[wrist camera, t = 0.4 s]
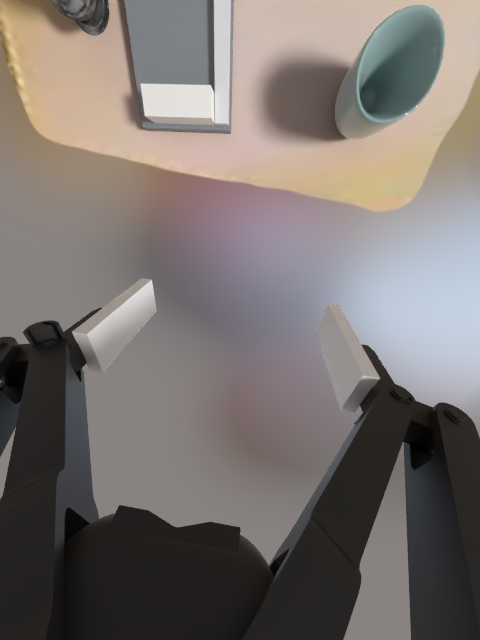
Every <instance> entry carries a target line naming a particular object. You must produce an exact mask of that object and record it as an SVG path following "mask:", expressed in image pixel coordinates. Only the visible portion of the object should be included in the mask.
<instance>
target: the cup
mask: <svg viewBox="0 0 480 640" xmlns="http://www.w3.org/2000/svg"><path fill="white" fill-rule="evenodd" d="M444 46H445V32H444V26H443V22H442V20H441V18H440V16H439V14H438V13H437V12H436V11H435V10H434V9H432V8H430V7H427V6H423V5H414V6H410V7H406V8H403V9H401V10H399V11H397V12H395V13H393V14H392V15H391V16H389V17H388V18H386V19H385V20H384V21H383V22H382V23H381V24H380V25H379V26H378V27H377V28H376V29H375V30H374V31H373V32H372V34H371V35H370V36H369V38H368V39H367V40H366V42H365V43H364V45H363V46H362V48H361V49H360V51H359V52H358V54H357V56H356V57H355V59H354V60H353V62H352V64H351V65H350V67H349V69H348V71H347V73H346V75H345V77H344V78H343V81H342V83H341V86H340V88H339V91H338V94H337V99H336V103H335V122H336V126H337V129H338V131H339V132H340V133H341V135H343V136H344V137H346V138H349V139H362V138H366V137H369V136H372V135H374V134H376V133H378V132H380V131H382V130H384V129H386V128H388V127H390V126H391V125H393V124H395V123H396V122H398V121H400V120H401V119H403V118H404V117H406V116H407V115H408V114H410V113H411V112H412V111H414V110H415V109H416V108H417V107H418V106H419V105H420V103H421V102H422V101H423V100H424V99H425V97H426V96H427V95H428V93H429V92H430V90H431V88H432V86H433V84H434V82H435V80H436V78H437V75H438V73H439V70H440V67H441V63H442V59H443V54H444Z"/></svg>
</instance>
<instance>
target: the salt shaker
mask: <svg viewBox="0 0 480 640" xmlns="http://www.w3.org/2000/svg"><path fill="white" fill-rule="evenodd" d="M51 1H52V3H53V4H54V6H55V7H56V8H57V9H58V10H59V11H60V12H61V13H62V14H64V15H65V16H67V17H68V18H72V19H75V20H76V22H77V23H78V25H79V26H80V27H81V28H82V29H83V30H84V31H85V32H87V33H88V34H91V35H99V34H101V33H102V32H103V31H104V30H105V28H106V26H107V23H108V20H109V3H108V0H51Z"/></svg>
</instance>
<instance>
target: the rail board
mask: <svg viewBox="0 0 480 640" xmlns="http://www.w3.org/2000/svg"><path fill="white" fill-rule="evenodd" d="M124 2H125V9H126V16H127V23H128V30H129V37H130V44H131V51H132V58H133V65H134V72H135V79H136V86H137V93H138V99H139V106H140V113H141V120H142V127H143V128H144V129H146V130H148V131H175V132H202V133H229V134H231V105H232V55H233V5H234V0H124Z"/></svg>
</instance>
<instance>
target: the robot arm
mask: <svg viewBox="0 0 480 640" xmlns="http://www.w3.org/2000/svg"><path fill="white" fill-rule="evenodd" d="M156 311H157V310H156V303H155V298H154V291H153V286H152V280H150V279H143V278H142V279H140V280H139V281H138V282H136V283H135V284H134V285H133V286H131V287H130V288H129V289H127V290H126V291H125V292H123V293H122V294H121V295H119V296H118V297H117V298H115V299H114V300H113V301H112V302H110V303H109V304H108V305H106V306H105V307H104V308H99V309H96V310H94V311H92V312H91V313H89V314H88V315H87V316H86V317H84V318H83V319H81V320H80V321H78V322H77V323H76V324H74V325H73V326H72V327H70V328H69V329H67V330H66V331H65V332H63V331H62V329H61V327H60V325H59V323H58V322H56V321H42V322H38V323H35V324H33V325H31V326H29V327H28V328H26V329H25V330H24V332H23V333H24V335H25V336H26V338H27V340H28V341H29V343H30V344H21V345H19V344H18V343H17V341H16V340H15V338H12V337H2V338H0V381H1V383H0V456H1V455H2V452H3V451H4V449H5V447H6V445H7V443H8V441H9V439H10V437H11V435H12V433H13V431H14V429H15V427H16V430H15V436H14V441H13V446H12V451H11V456H10V462H9V467H8V472H7V478H6V482H5V488H4V493H3V496H2V498H1V499H0V640H343V638H344V636H345V632H346V630H347V626H348V624H349V621H350V617H351V614H352V611H353V608H354V605H355V602H356V599H357V596H358V593H359V589H360V585H361V573H360V570H359V565H360V561H361V558H362V555H363V552H364V549H365V546H366V544H367V541H368V538H369V535H370V532H371V530H372V527H373V524H374V521H375V518H376V516H377V513H378V510H379V507H380V504H381V501H382V499H383V496H384V493H385V490H386V487H387V485H388V482H389V479H390V476H391V473H392V471H393V468H394V465H395V462H396V459H397V457H398V454H399V451H400V448H401V445H402V443H403V442H404V462H405V488H406V514H407V538H408V539H407V541H408V568H409V595H410V618H411V619H410V620H411V640H480V438H479V435H478V432H477V430H476V427H475V425H474V423H473V421H472V419H471V418H470V417H468V415H467V414H465V413H464V412H463V411H462V410H460V409H458V408H457V407H455V406H453V405H450V404H447V403H438V404H437V405H436V406H434V407H433V408H432V407H430V406H428V405H425V404H422V403H420V402H417V401H415V399H414V397H413V396H412V395H411V394H410V393H409V392H408V391H407V390H406V389H404V388H403V387H401V386H398V385H396V384H394V382H393V380H392V379H391V377H390V376H389V374H388V372H387V371H386V369H385V368H384V366H383V365H382V363H381V361H380V360H379V358H378V356H377V355H376V353H375V352H374V351H373V350H372V349H371V348H370V347H369V346H367V345H361V344H360V342H359V340H358V338H357V337H356V335H355V333H354V331H353V330H352V328H351V326H350V324H349V323H348V321H347V319H346V317H345V316H344V314H343V312H342V310H341V309H340V307H339V305H333V304H328V305H327V308H326V310H325V313H324V315H323V318H322V320H321V323H320V325H319V328H318V331H317V333H316V334H317V337H318V341H319V344H320V347H321V350H322V353H323V356H324V359H325V363H326V366H327V369H328V372H329V375H330V378H331V381H332V385H333V388H334V391H335V394H336V397H337V400H338V404H339V407H340V410H344V411H351V412H355V411H356V410H357V409H358V407H359V406H361V409H362V411H363V413H362V415H361V416H360V417H359V418H358V420H357V421H356V422H355V426H354V427H353V429H352V431H351V432H350V434H349V436H348V437H347V439H346V441H345V442H344V444H343V446H342V447H341V449H340V451H339V452H338V454H337V456H336V457H335V459H334V461H333V462H332V464H331V466H330V467H329V469H328V471H327V472H326V474H325V476H324V477H323V479H322V481H321V482H320V484H319V486H318V487H317V489H316V491H315V492H314V494H313V496H312V497H311V499H310V501H309V502H308V504H307V505H306V507H305V509H304V511H303V512H302V514H301V515H300V517H299V519H298V521H297V522H296V524H295V525H294V527H293V529H292V530H291V532H290V533H289V535H288V537H287V538H286V539H285V541H284V542H283V544H282V545H281V547H280V548H279V550H278V551H277V553H276V554H275V556H274V558H273V560H272V561H271V563H270V565H269V566H268V564H267V562H266V560H265V559H264V558H263V556H262V555H261V553H260V552H259V551H258V550H257V549H256V547H255V546H254V545H253V544H251V542H250V541H248V540H247V539H246V538H244V537H243V536H241V535H240V527H234V526H230V525H224V524H219V523H213V522H207V523H201V524H196V525H190V526H184V527H178V528H177V527H174V526H172V525H170V524H169V523H167V522H166V521H164V520H162V519H161V518H159V517H158V516H156V515H155V514H153V513H151V512H150V511H148V510H142V509H137V508H132V507H127V506H121V505H120V506H119V507H118V509H117V511H116V513H115V514H111V515H108V516H105V517H102V518H100V519H99V516H98V511H97V507H96V504H95V502H94V498H93V490H92V477H91V464H90V450H89V437H88V424H87V412H86V411H87V410H86V397H85V384H84V372H83V370H82V367H83V366H84V365H85V364H86V363H87V365H88V367H89V369H90V370H91V371H97V372H104V371H105V370H106V369H107V368H108V367H109V365H110V364H111V363H112V362H113V360H115V358H116V357H117V356H118V355H119V354H120V353H121V351H122V350H123V349H124V348H125V347H126V346H127V345H128V343H129V342H130V341H131V340H132V339H133V338H134V336H135V335H136V334H137V333H138V332H139V331H140V330H141V328H142V327H143V326H144V325H145V324H146V323H147V321H148V320H149V319H150V318H151V317H152V316H153V314H154V313H155V312H156Z"/></svg>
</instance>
